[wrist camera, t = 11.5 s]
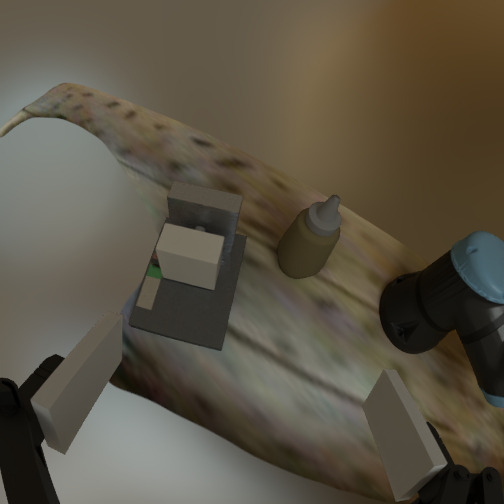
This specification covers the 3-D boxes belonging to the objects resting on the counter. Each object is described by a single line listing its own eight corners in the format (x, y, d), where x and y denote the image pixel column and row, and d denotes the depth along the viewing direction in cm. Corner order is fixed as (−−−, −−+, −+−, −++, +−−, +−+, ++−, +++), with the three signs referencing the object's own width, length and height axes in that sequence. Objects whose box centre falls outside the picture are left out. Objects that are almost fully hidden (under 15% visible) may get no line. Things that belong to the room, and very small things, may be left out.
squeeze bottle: (308, 293, 48) (357, 238, 33) (264, 271, 49) (294, 205, 33) (323, 256, 52) (370, 193, 36) (283, 235, 53) (316, 164, 37)
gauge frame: (245, 240, 51) (257, 199, 41) (221, 350, 42) (227, 334, 32) (167, 222, 50) (161, 178, 40) (130, 326, 41) (109, 302, 31)
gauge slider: (224, 250, 48) (229, 218, 40) (214, 290, 44) (217, 264, 36) (162, 235, 47) (155, 201, 39) (148, 273, 44) (137, 244, 36)
